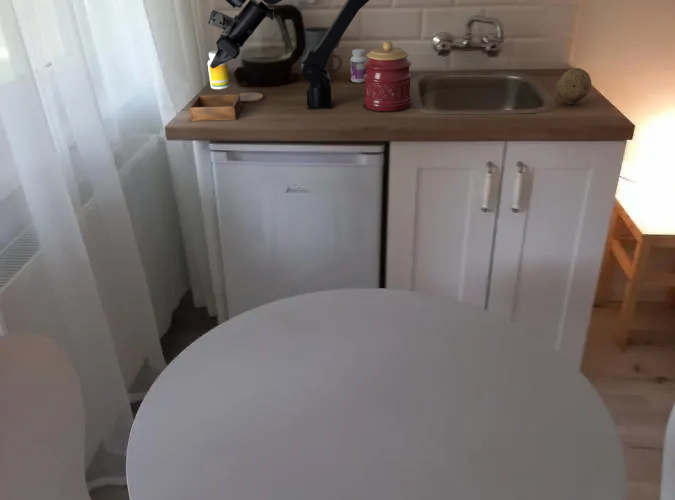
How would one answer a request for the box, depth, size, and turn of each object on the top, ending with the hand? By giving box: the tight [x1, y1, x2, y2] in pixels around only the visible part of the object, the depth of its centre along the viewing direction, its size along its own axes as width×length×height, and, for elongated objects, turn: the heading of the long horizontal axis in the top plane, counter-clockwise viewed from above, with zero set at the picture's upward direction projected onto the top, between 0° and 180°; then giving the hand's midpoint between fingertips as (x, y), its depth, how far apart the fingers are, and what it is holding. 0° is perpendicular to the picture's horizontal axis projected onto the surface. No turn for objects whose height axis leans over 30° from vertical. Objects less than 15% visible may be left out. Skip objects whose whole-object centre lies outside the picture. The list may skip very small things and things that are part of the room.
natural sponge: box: [555, 67, 592, 105], centre depth 171 cm, size 9×9×10 cm
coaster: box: [236, 92, 264, 103], centre depth 188 cm, size 9×9×1 cm
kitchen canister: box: [363, 40, 412, 112], centre depth 173 cm, size 13×13×18 cm
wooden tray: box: [188, 93, 242, 122], centre depth 175 cm, size 12×12×4 cm
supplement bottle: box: [207, 50, 231, 90], centre depth 173 cm, size 5×5×10 cm
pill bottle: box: [350, 48, 368, 83], centre depth 201 cm, size 5×5×10 cm
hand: (212, 64), depth 172 cm, fingers closed on supplement bottle, 5 cm apart
